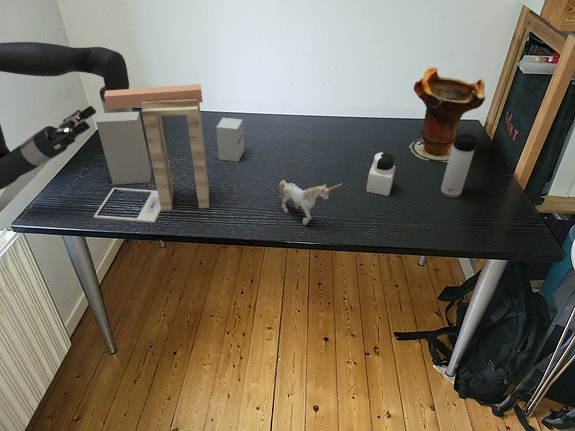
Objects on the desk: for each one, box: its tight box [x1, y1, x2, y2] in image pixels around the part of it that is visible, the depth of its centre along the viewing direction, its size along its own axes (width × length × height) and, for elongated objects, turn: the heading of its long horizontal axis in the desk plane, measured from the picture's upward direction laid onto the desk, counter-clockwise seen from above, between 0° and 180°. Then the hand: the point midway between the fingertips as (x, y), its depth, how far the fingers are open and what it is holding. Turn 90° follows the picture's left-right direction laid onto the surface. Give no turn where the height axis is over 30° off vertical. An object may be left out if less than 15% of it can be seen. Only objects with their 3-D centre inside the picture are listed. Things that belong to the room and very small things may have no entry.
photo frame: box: [93, 187, 161, 224], centre depth 138 cm, size 15×1×18 cm
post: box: [95, 111, 152, 185], centre depth 142 cm, size 6×12×22 cm, turn 98°
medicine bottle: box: [365, 151, 396, 197], centre depth 143 cm, size 7×7×12 cm
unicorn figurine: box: [278, 179, 343, 226], centre depth 131 cm, size 7×20×13 cm, turn 62°
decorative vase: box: [408, 67, 486, 163], centre depth 158 cm, size 21×23×28 cm
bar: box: [104, 84, 204, 109], centre depth 119 cm, size 4×24×4 cm, turn 102°
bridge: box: [141, 99, 210, 212], centre depth 130 cm, size 10×14×34 cm
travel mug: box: [440, 133, 478, 199], centre depth 140 cm, size 6×7×20 cm
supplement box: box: [215, 117, 245, 163], centre depth 157 cm, size 7×7×13 cm
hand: (90, 116), depth 120 cm, fingers open, 8 cm apart
